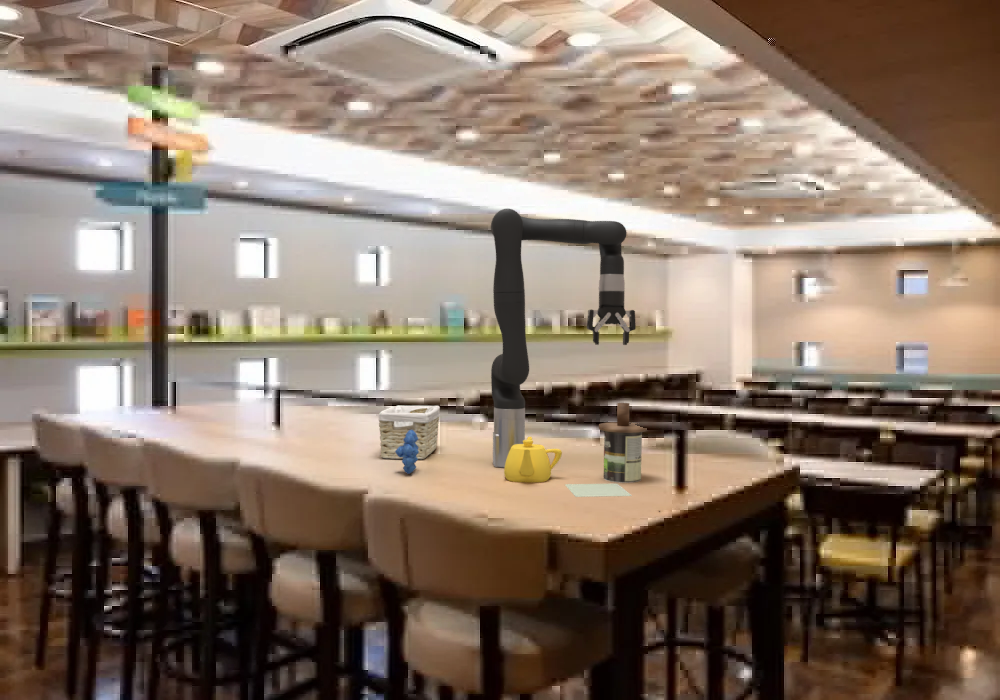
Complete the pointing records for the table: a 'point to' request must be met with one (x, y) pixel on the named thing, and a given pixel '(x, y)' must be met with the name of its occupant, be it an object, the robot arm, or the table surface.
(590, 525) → the table surface
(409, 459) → the grapes
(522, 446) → the teapot
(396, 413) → the storage basket
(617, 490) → the mat
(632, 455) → the coffee can
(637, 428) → the lid
